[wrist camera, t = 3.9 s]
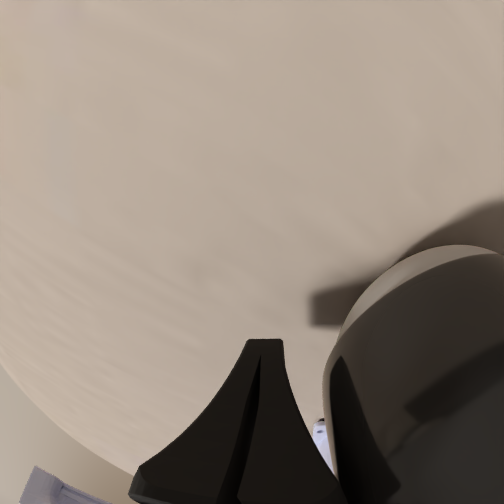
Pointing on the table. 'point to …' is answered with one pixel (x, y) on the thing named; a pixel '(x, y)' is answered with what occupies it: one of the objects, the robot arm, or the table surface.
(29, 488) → the robot arm
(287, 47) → the table surface
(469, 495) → the dark grey egg shape
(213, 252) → the table surface
